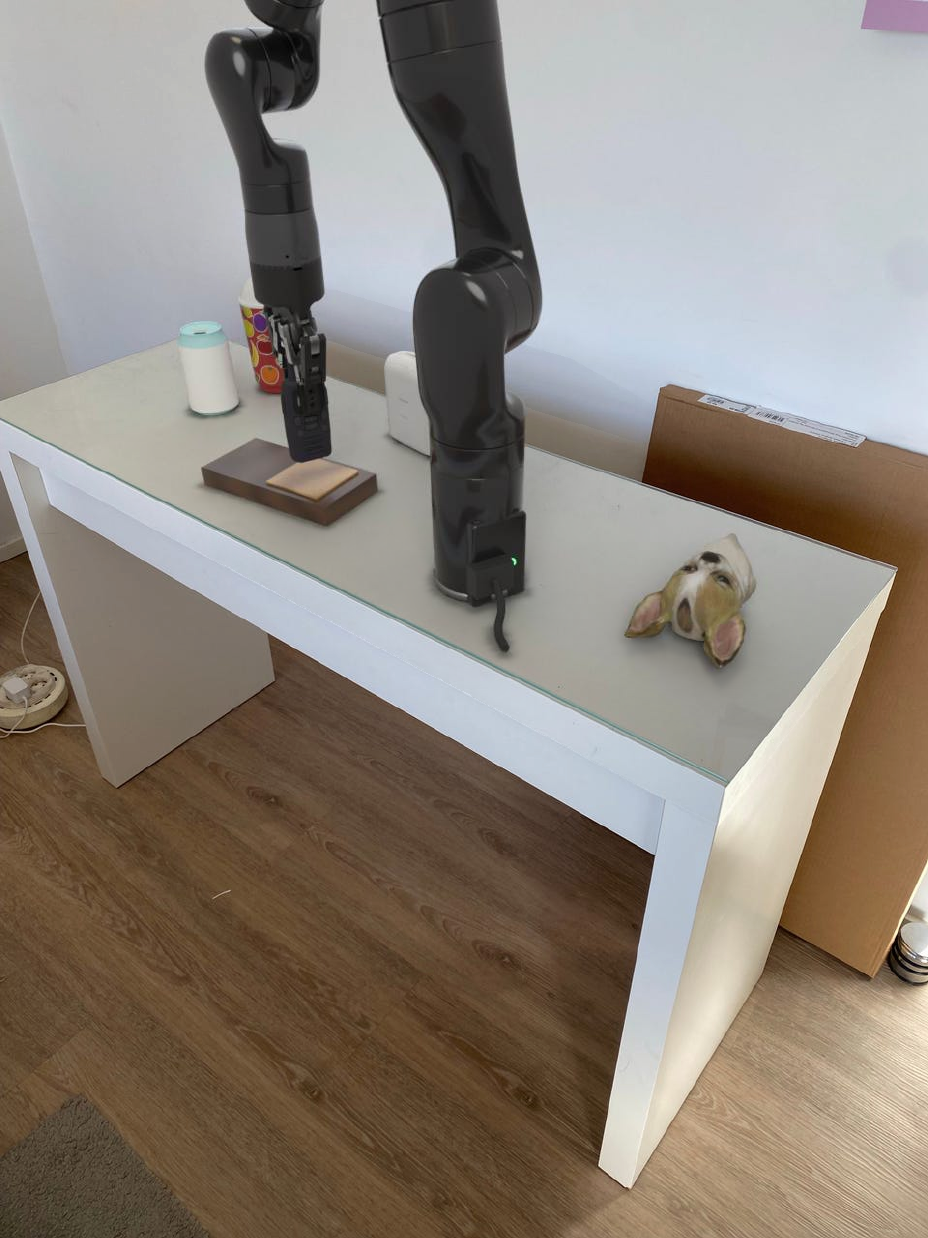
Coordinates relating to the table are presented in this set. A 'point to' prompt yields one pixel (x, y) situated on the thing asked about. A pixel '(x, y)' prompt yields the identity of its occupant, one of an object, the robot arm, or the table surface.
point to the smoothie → (259, 341)
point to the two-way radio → (305, 422)
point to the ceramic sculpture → (702, 601)
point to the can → (207, 368)
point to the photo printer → (405, 402)
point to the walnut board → (290, 481)
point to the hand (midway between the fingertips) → (303, 405)
